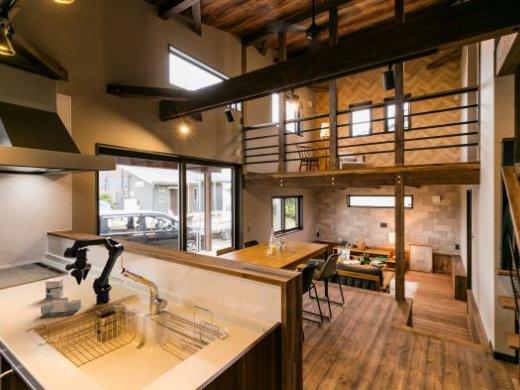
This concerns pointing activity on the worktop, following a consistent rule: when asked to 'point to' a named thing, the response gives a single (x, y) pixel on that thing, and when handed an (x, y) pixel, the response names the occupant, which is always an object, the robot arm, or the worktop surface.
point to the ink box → (54, 288)
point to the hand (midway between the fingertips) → (81, 282)
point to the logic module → (60, 304)
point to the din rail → (49, 312)
